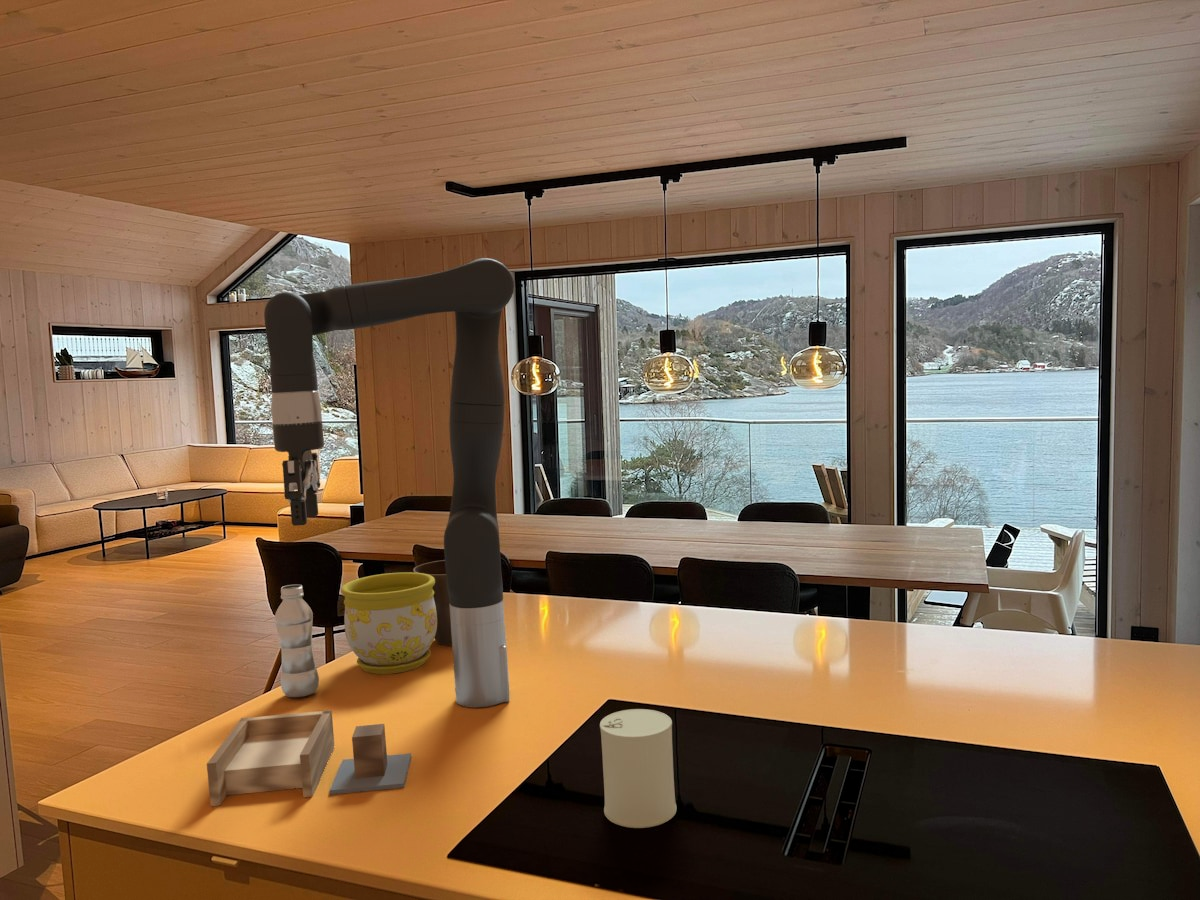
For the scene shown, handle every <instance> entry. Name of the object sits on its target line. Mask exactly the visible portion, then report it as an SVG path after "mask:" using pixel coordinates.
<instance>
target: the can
mask: <svg viewBox="0 0 1200 900" xmlns="http://www.w3.org/2000/svg"><path fill="white" fill-rule="evenodd" d="M599 729H600V737H601V753H602V772H603V788H604V789H603V791H604V807H603V813H604V816H605V817H606V818H607V820H608V821H610V822H611V823H613V824H615V825H618V826H619V827H620V826H621V827H625V828H631V829H632V828H633V829H644V828H645V829H646V828H652V827H657V826H660V825H663V824H664V823H665V824H666V822H669V820H671V819H672V818H674V816H675V815H676V813H677V803H676V796H675V795H676V794H675V792H676V791H675V780H674V779H675V778H674V777H675V776H674V775H675V773H674V757H673V756H674V755H673V754H674V753H673V751H674V750H673V720H672V718H671V717H670V716H669V715H667V714H666V713H664V712H661V711H658V710H655V709H645V708H631V709H623V710H620V711H615V712H613V713H610V714H608V715H605V716H604V717H603V718H602V719H601V720H600V723H599Z"/></svg>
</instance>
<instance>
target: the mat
mask: <svg viewBox="0 0 1200 900" xmlns="http://www.w3.org/2000/svg"><path fill="white" fill-rule="evenodd" d="M411 760H412V752H410V753H409V752H408V753H399V754H391V755H390V754H389V755H388V754H387V767H386V771H385V775H384V776H377V777H367V778H357V779H355V769H354V758H346V759H342V760H341V762H340V765H339V767H338V768H337V772H336V775H335V777H334V779H333V782H332V784H331V786H330V788H329V795H341V794H351V793H352V794H353V793H359V792H360V793H361V791H362V792H371V791H381V790H392V789H403V788H405V785H406V780H407V778H408V777H407V776H408V774H409V769H410V765H411V762H412V761H411Z"/></svg>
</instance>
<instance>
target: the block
mask: <svg viewBox="0 0 1200 900" xmlns="http://www.w3.org/2000/svg"><path fill="white" fill-rule="evenodd" d="M351 741H352V742H351V743H352V755H353V756H352V757H353V759H354V769H355V779H357V778H367V777H377V776H384V775H385V771H386V767H387V755H388V754H387V740H386V728H385V723H379V724H378V723H377V724H369V725H368V724H367V725H359V726H358V725H357V726H355V729H354V731H353V733H352V736H351Z"/></svg>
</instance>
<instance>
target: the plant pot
mask: <svg viewBox="0 0 1200 900" xmlns="http://www.w3.org/2000/svg"><path fill="white" fill-rule="evenodd" d="M413 573H423V574H428V575H431V576H433V577H434V579H435V584H434V586H433V587H432V588H433V591H434V595H433V596H434V601H435V606H436V612H437V630H436V634H435V637H434V641H435V643H437V644H439V645H443V646H452V635H451V621H450V606H449V594H448V589H447V578H446V566H445V559H443V560H435V561H431V562H426V563H422V564H419V565H417V566H414V568H413Z"/></svg>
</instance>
